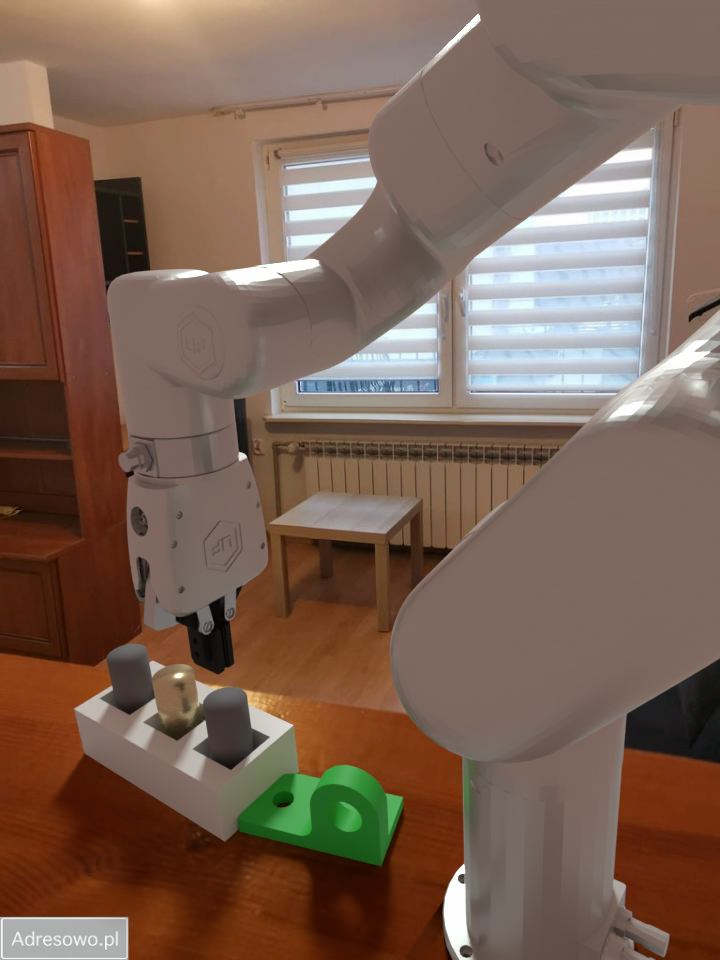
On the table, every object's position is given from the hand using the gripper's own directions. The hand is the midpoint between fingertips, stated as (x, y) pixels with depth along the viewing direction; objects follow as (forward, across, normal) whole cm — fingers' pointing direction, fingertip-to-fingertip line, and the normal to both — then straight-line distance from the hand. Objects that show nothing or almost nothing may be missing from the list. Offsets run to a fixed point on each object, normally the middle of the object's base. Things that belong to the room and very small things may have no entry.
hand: (213, 664), depth 58 cm
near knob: (+9, 0, -1) cm, 9 cm away
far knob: (+10, 0, +12) cm, 15 cm away
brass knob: (+9, 0, +6) cm, 11 cm away
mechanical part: (+13, +2, -9) cm, 16 cm away
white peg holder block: (+14, 0, +6) cm, 15 cm away
